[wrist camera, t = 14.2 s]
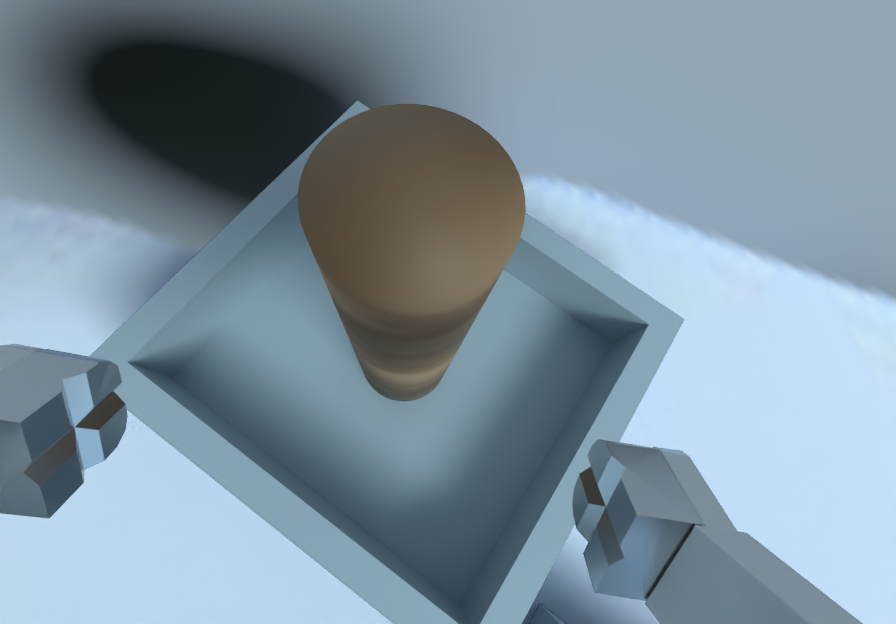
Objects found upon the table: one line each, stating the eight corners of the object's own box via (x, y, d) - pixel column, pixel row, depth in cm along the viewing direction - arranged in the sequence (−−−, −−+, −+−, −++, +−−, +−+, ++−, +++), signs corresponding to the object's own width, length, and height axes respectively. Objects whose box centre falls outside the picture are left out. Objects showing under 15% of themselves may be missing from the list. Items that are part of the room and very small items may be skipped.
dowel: (344, 367, 21) (246, 211, 7) (396, 302, 22) (393, 69, 9) (413, 419, 20) (440, 351, 7) (462, 350, 22) (565, 182, 8)
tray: (142, 387, 20) (76, 368, 16) (363, 160, 25) (357, 100, 21) (463, 641, 19) (483, 696, 14) (632, 344, 24) (684, 319, 19)
